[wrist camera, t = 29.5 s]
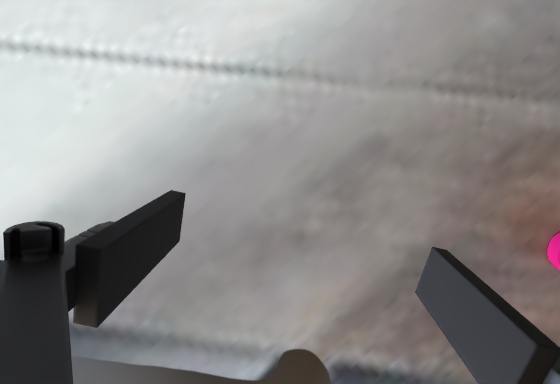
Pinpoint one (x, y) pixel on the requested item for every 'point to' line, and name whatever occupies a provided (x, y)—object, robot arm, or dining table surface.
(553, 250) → the pepper mill
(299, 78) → the dining table surface
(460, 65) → the dining table surface
